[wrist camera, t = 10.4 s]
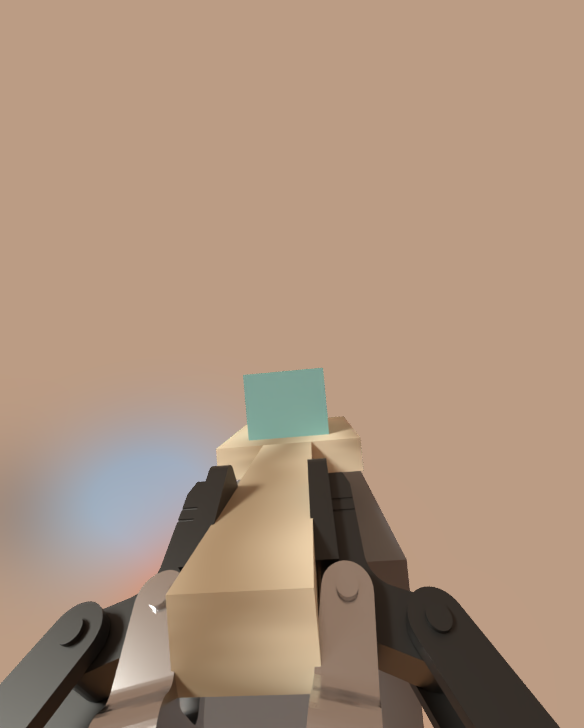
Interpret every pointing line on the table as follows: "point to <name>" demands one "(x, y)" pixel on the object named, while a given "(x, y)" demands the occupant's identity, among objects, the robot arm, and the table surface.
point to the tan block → (256, 573)
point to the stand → (398, 701)
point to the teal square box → (286, 404)
